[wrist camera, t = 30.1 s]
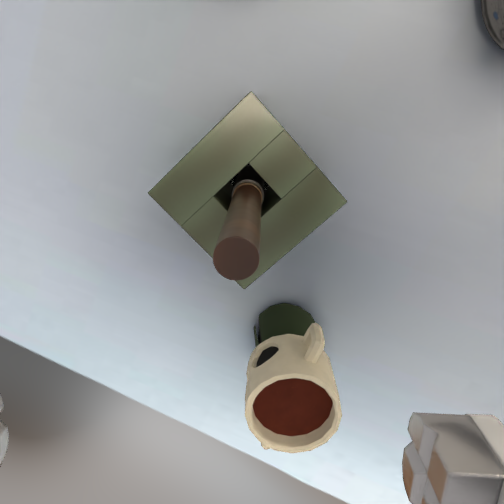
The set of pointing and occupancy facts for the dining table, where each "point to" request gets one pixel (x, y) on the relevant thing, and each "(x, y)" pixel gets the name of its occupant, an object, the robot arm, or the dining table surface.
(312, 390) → the character mug
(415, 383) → the dining table surface
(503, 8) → the beverage bottle
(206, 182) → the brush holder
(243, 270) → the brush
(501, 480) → the robot arm
